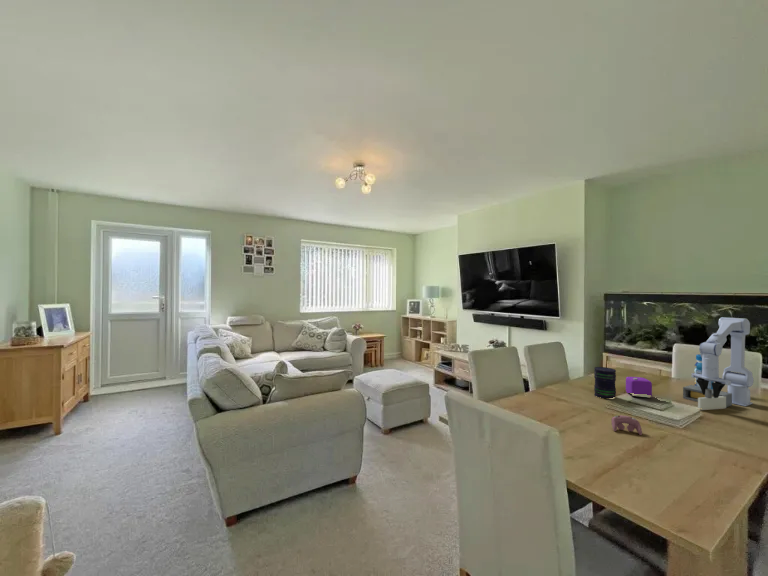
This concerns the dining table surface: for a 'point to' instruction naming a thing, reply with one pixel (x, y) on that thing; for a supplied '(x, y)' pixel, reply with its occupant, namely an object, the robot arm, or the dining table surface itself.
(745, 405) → the robot arm
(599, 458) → the dining table surface
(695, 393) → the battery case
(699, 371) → the beverage bottle
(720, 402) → the door
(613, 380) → the storage jar
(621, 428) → the video game controller
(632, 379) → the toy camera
